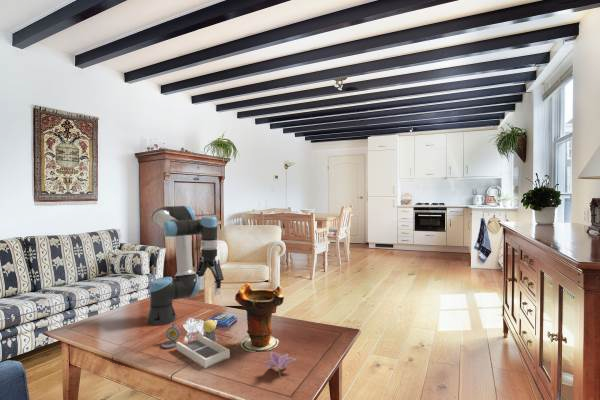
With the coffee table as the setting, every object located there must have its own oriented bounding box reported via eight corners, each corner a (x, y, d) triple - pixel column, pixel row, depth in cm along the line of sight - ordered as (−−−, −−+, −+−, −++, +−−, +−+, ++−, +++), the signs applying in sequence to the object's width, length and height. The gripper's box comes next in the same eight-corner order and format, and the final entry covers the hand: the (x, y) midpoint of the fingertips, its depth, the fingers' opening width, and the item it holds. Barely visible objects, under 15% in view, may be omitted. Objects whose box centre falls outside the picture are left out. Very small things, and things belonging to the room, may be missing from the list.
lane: (176, 349, 152) (176, 342, 152) (199, 341, 161) (199, 334, 161) (205, 368, 136) (205, 360, 136) (229, 357, 145) (229, 349, 145)
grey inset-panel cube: (203, 340, 163) (203, 331, 162) (210, 337, 166) (210, 329, 165) (208, 342, 160) (208, 334, 160) (215, 339, 163) (215, 331, 163)
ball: (200, 332, 162) (200, 320, 162) (211, 328, 167) (211, 316, 167) (207, 336, 158) (207, 323, 158) (218, 332, 163) (218, 320, 163)
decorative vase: (286, 352, 149) (283, 290, 149) (235, 356, 148) (231, 293, 147) (285, 332, 170) (282, 278, 170) (240, 336, 169) (237, 281, 168)
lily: (300, 375, 133) (297, 349, 138) (288, 377, 123) (285, 349, 128) (274, 379, 137) (271, 354, 141) (259, 382, 127) (257, 354, 131)
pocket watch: (162, 350, 152) (162, 328, 152) (160, 342, 159) (160, 322, 159) (181, 346, 156) (181, 325, 156) (178, 339, 163) (178, 319, 163)
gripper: (188, 246, 167) (189, 288, 168) (217, 252, 151) (217, 299, 151) (202, 245, 173) (202, 285, 173) (231, 250, 156) (231, 295, 157)
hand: (209, 292), depth 162 cm, fingers open, 13 cm apart
